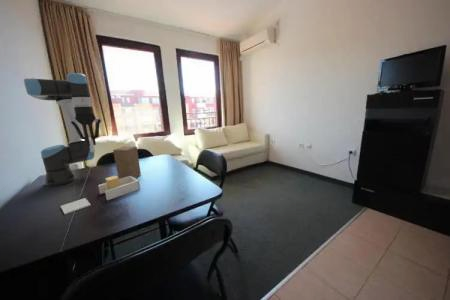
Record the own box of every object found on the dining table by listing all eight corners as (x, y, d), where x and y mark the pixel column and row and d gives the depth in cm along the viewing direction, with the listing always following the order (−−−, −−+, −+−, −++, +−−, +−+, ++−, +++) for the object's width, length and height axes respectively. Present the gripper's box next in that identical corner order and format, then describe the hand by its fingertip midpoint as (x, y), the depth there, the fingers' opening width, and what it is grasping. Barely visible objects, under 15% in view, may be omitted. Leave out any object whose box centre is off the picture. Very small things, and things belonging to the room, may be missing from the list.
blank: (108, 193, 104) (105, 178, 102) (117, 190, 108) (115, 175, 105) (111, 196, 101) (108, 180, 98) (121, 192, 104) (118, 177, 102)
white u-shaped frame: (100, 193, 104) (98, 185, 103) (131, 183, 116) (130, 175, 115) (107, 200, 96) (105, 191, 95) (140, 188, 108) (138, 180, 107)
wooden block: (131, 180, 121) (126, 150, 116) (118, 179, 123) (112, 149, 118) (141, 174, 131) (137, 146, 126) (128, 173, 133) (123, 146, 128)
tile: (60, 207, 91) (60, 205, 91) (85, 199, 98) (85, 197, 98) (64, 214, 85) (64, 213, 85) (90, 205, 92) (90, 204, 92)
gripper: (67, 106, 88) (79, 155, 93) (99, 105, 97) (108, 150, 102) (65, 107, 93) (76, 153, 98) (96, 106, 102) (104, 148, 107)
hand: (92, 151), depth 100 cm, fingers closed
